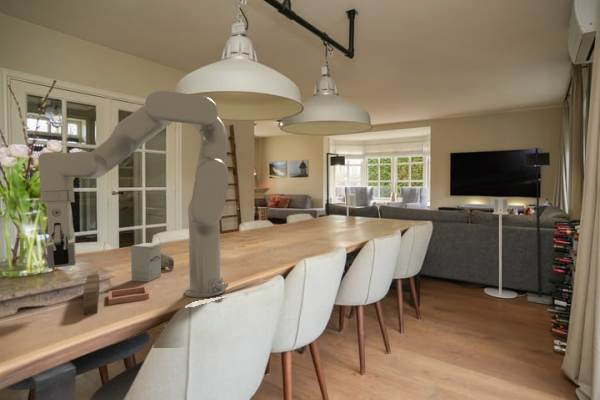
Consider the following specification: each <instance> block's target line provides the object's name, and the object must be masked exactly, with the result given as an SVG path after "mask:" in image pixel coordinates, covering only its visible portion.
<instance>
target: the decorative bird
mask: <svg viewBox="0 0 600 400" xmlns="http://www.w3.org/2000/svg"><path fill="white" fill-rule="evenodd" d="M174 267H175V260H174V258H173V256H171V255H168V254H166V253H164V252H162V251H161V269H166V268H168V270H170V271H173V270H174Z"/></svg>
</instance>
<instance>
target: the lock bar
mask: <svg viewBox="0 0 600 400" xmlns="http://www.w3.org/2000/svg"><path fill="white" fill-rule="evenodd" d="M75 244H76V242H75V241H70V242H69V241H68V242H67V243H66V249H68V261H69V262H68V264H62V265H54V255H53V251H54V246H53V243H49V244H47V245H46V252H47V253H46V255H47V266H48V267H47V269H53V268H63V267H71V266H75V265H76V263H77V259H76V258H77V255H76V245H75Z"/></svg>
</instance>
